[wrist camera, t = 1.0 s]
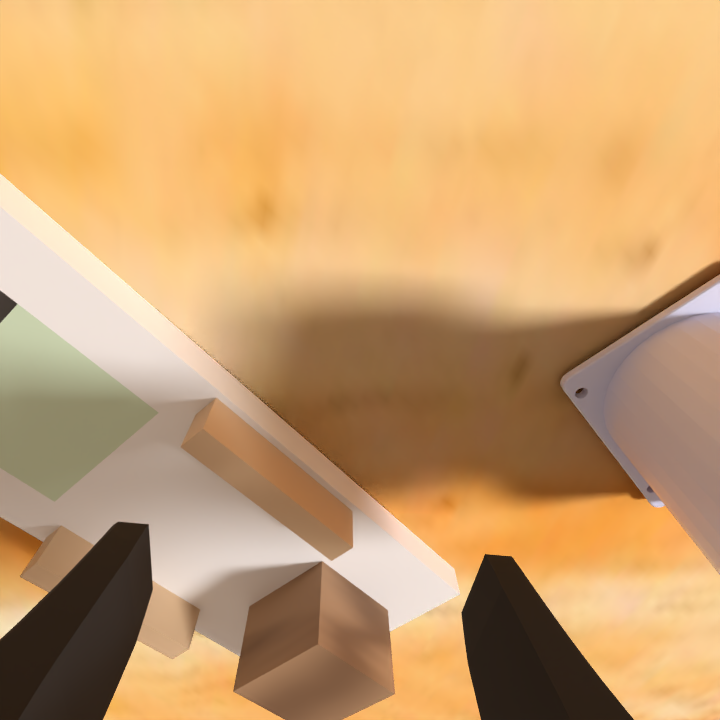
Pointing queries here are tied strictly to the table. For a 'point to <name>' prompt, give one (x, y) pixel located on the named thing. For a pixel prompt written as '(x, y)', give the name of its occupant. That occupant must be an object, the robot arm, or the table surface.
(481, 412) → the table surface
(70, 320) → the deck
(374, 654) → the walnut block
